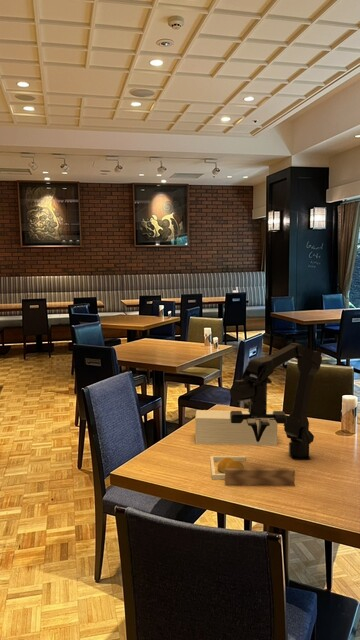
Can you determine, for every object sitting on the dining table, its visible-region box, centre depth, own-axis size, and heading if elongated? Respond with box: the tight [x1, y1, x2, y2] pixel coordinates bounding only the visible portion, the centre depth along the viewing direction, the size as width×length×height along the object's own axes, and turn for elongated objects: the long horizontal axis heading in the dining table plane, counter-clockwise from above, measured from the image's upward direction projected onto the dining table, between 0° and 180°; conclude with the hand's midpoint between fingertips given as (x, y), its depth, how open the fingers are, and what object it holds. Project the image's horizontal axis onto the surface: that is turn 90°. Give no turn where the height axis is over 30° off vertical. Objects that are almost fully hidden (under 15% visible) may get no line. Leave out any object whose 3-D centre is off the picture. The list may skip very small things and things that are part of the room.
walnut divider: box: [224, 467, 296, 487], centre depth 154 cm, size 22×2×5 cm, turn 89°
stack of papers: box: [194, 409, 278, 447], centre depth 194 cm, size 32×11×11 cm, turn 85°
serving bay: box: [209, 455, 248, 480], centre depth 166 cm, size 13×16×2 cm
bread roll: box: [217, 458, 245, 474], centre depth 165 cm, size 8×9×4 cm
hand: (257, 441), depth 164 cm, fingers closed
